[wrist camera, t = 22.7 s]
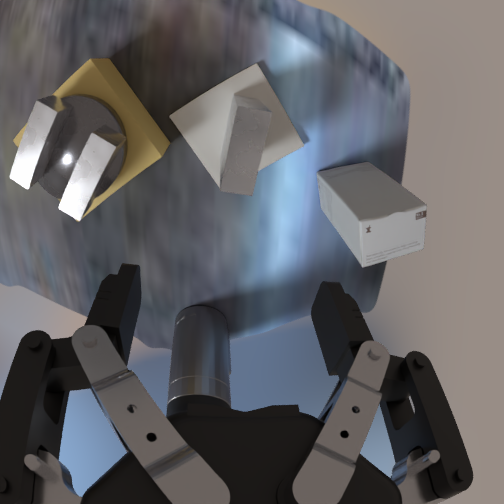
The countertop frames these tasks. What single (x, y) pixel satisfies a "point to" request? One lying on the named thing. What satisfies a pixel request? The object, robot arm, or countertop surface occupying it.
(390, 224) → the skincare box
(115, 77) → the yellow square mount
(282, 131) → the key mat
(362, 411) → the robot arm
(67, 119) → the collar
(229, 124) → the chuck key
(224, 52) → the countertop surface
